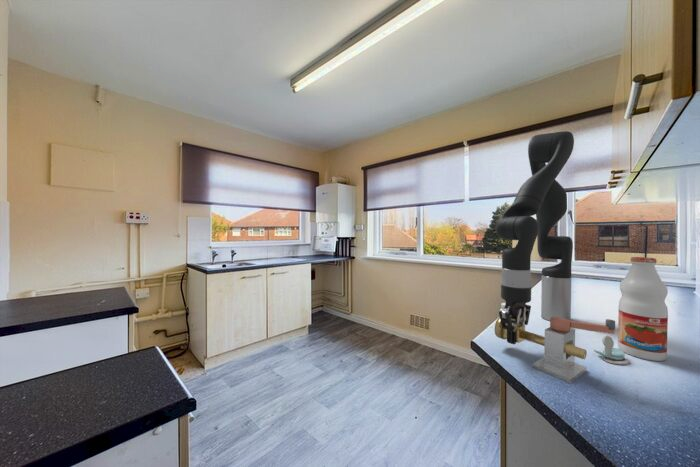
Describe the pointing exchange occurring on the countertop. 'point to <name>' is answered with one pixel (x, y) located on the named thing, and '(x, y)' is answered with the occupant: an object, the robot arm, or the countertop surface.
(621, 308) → the fruit juice
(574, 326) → the lock lever
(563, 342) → the eye bracket
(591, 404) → the countertop surface
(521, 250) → the robot arm
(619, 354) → the pacifier
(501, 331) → the gold bolt
